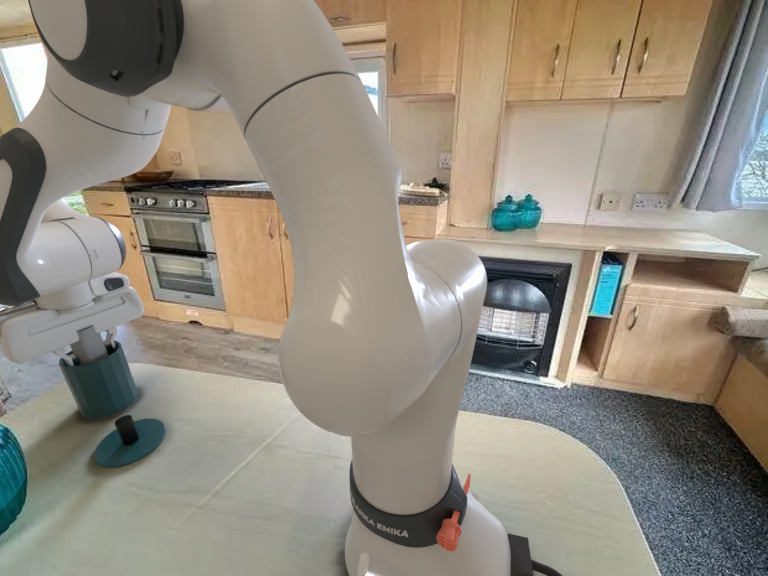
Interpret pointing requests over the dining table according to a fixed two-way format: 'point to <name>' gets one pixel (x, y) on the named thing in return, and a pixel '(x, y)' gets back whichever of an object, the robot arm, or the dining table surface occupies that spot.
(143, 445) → the lid
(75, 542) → the dining table surface
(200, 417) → the dining table surface
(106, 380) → the pot
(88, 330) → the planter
